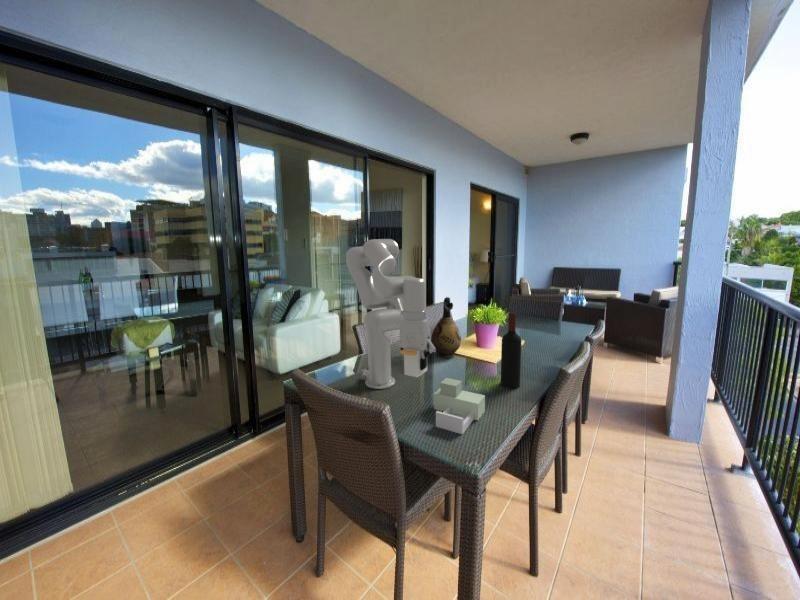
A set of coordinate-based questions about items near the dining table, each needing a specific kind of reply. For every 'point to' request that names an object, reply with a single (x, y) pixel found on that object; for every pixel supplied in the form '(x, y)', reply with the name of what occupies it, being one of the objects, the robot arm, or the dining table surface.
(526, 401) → the dining table surface
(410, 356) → the orange-topped white box
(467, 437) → the dining table surface
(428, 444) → the dining table surface
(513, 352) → the wine bottle
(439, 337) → the ceramic jug
